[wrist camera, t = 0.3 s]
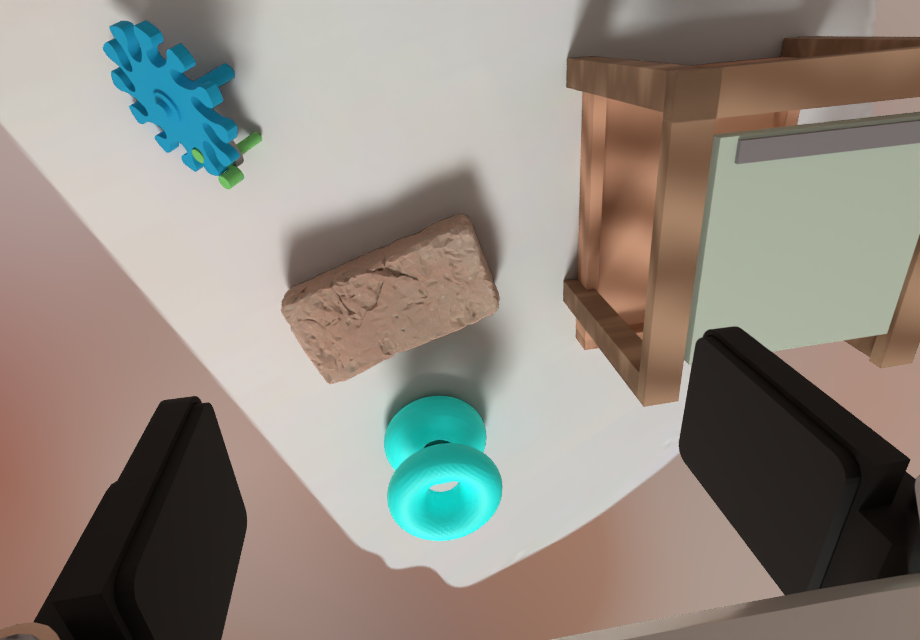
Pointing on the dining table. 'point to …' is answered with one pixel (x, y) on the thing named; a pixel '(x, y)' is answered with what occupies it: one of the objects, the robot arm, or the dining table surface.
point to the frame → (698, 187)
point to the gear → (178, 100)
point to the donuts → (440, 469)
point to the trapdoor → (808, 231)
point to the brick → (392, 299)
